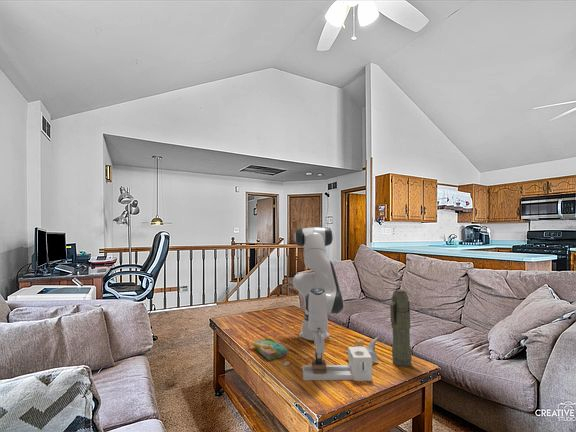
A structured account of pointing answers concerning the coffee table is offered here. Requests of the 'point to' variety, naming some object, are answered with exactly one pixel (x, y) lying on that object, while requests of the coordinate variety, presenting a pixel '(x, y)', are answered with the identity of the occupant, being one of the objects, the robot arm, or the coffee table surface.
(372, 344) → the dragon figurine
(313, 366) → the carriage
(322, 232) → the robot arm
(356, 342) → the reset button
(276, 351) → the puzzle game
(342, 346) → the coffee table surface
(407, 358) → the thermos
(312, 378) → the rail base
